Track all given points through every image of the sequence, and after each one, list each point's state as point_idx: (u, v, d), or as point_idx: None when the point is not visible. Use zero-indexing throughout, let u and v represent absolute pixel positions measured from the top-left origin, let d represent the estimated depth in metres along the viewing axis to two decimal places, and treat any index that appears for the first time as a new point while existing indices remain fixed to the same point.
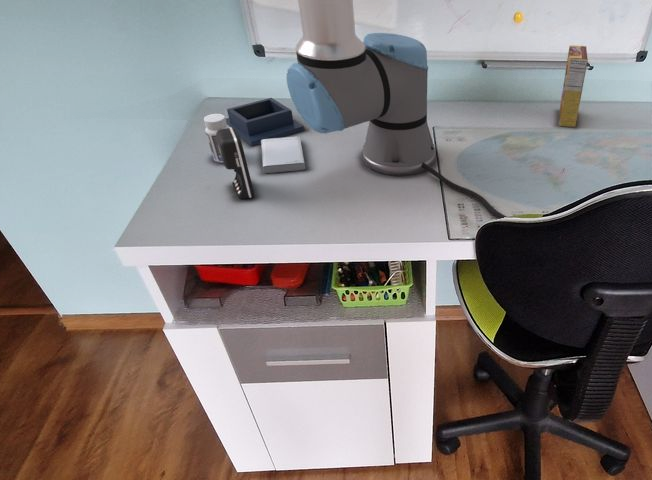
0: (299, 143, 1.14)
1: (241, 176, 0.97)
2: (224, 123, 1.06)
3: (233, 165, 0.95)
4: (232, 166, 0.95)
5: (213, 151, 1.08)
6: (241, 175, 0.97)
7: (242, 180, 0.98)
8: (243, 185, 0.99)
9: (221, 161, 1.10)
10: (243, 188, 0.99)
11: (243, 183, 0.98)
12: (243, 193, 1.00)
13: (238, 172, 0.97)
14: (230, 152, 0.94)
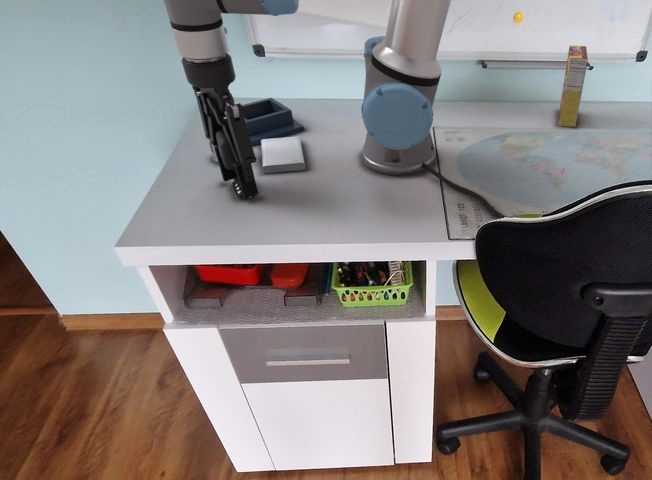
0: (299, 143, 1.14)
1: None
2: None
3: None
4: (232, 166, 0.95)
5: (213, 151, 1.08)
6: None
7: None
8: None
9: None
10: None
11: None
12: None
13: None
14: (230, 152, 0.94)
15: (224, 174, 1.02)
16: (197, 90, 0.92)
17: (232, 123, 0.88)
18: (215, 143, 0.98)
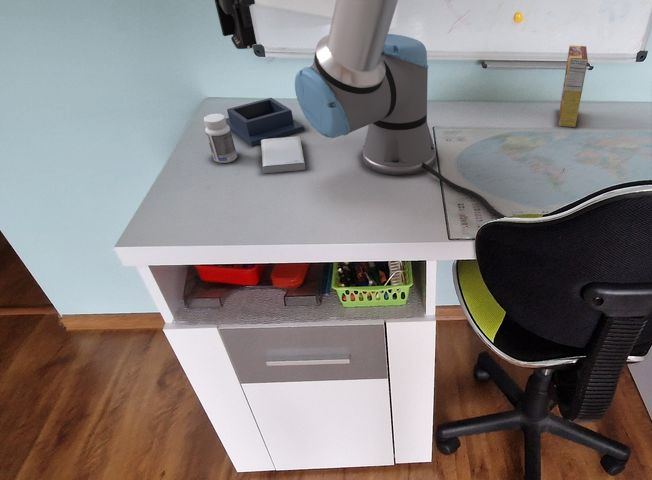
0: (299, 143, 1.14)
1: None
2: (224, 123, 1.06)
3: (232, 9, 1.00)
4: (231, 11, 1.00)
5: (213, 151, 1.08)
6: None
7: None
8: None
9: (221, 161, 1.10)
10: None
11: None
12: None
13: None
14: None
15: (223, 28, 1.06)
16: None
17: None
18: None
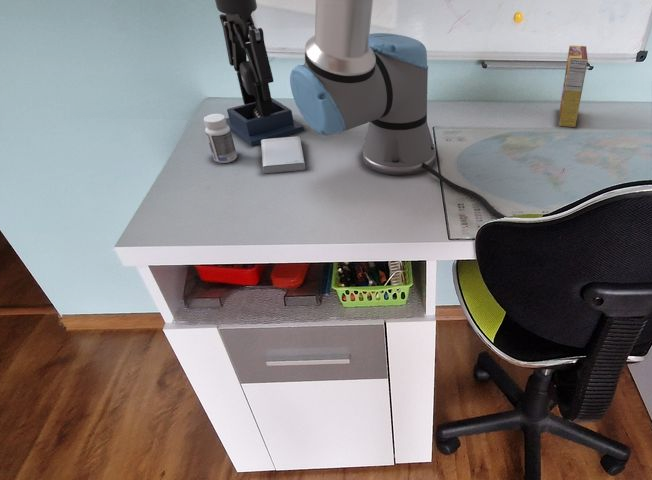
0: (299, 143, 1.14)
1: None
2: (224, 123, 1.06)
3: (254, 91, 1.14)
4: (253, 92, 1.14)
5: (213, 151, 1.08)
6: None
7: None
8: None
9: (221, 161, 1.10)
10: None
11: None
12: None
13: None
14: (252, 79, 1.12)
15: (244, 97, 1.20)
16: (224, 20, 1.10)
17: (254, 45, 1.05)
18: (238, 69, 1.16)
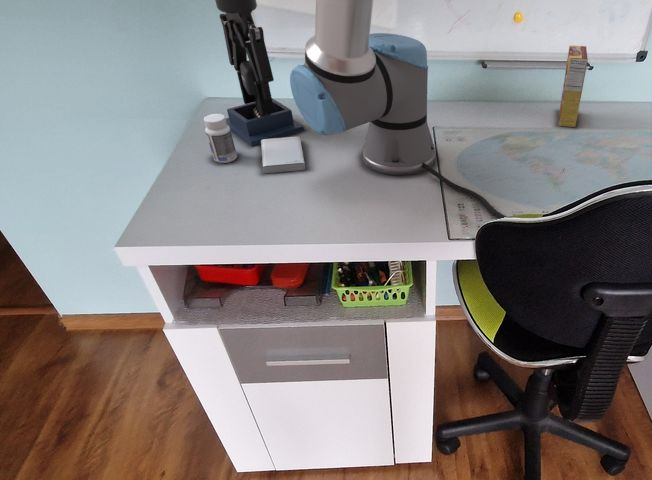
0: (299, 143, 1.14)
1: None
2: (224, 123, 1.06)
3: (255, 91, 1.14)
4: (254, 92, 1.14)
5: (213, 151, 1.08)
6: None
7: None
8: None
9: (221, 161, 1.10)
10: None
11: None
12: None
13: None
14: (253, 79, 1.12)
15: (245, 97, 1.19)
16: (224, 20, 1.10)
17: (254, 44, 1.05)
18: (238, 68, 1.16)
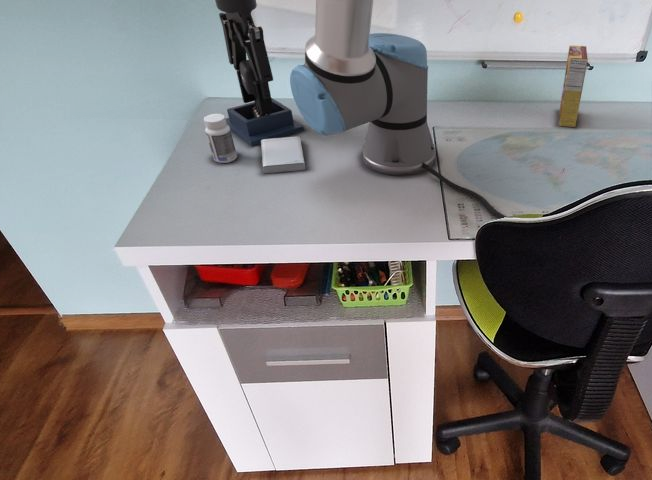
0: (299, 143, 1.14)
1: None
2: (224, 123, 1.06)
3: (254, 90, 1.14)
4: (253, 91, 1.14)
5: (213, 151, 1.08)
6: None
7: None
8: None
9: (221, 161, 1.10)
10: None
11: None
12: None
13: None
14: (252, 78, 1.12)
15: (244, 96, 1.19)
16: (223, 19, 1.10)
17: (254, 43, 1.05)
18: (237, 67, 1.16)
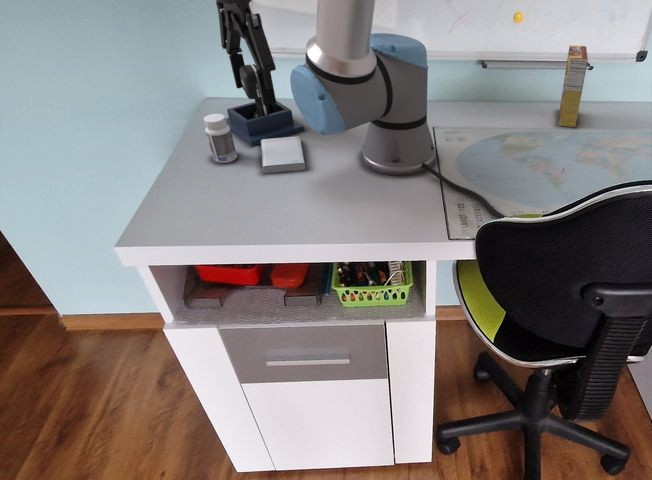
0: (299, 143, 1.14)
1: (261, 105, 1.16)
2: (224, 123, 1.06)
3: (254, 95, 1.14)
4: (253, 96, 1.14)
5: (213, 151, 1.08)
6: (261, 104, 1.16)
7: (261, 109, 1.17)
8: (262, 114, 1.18)
9: (221, 161, 1.10)
10: None
11: (262, 112, 1.17)
12: None
13: (258, 102, 1.16)
14: (252, 83, 1.13)
15: (237, 81, 1.18)
16: (220, 7, 1.08)
17: (252, 30, 1.03)
18: (230, 52, 1.15)
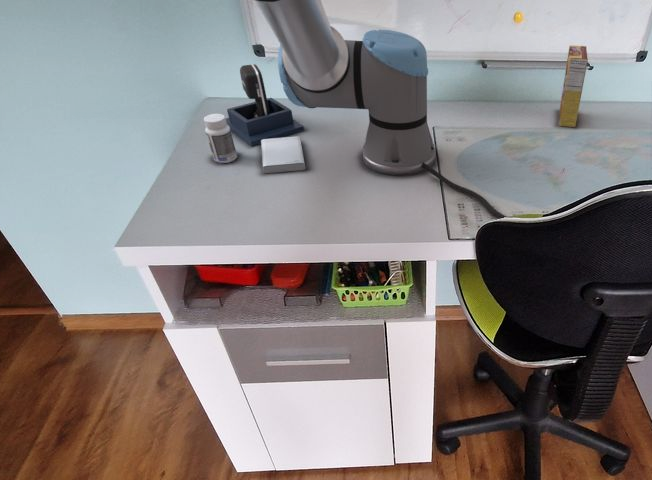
0: (299, 143, 1.14)
1: (261, 105, 1.16)
2: (224, 123, 1.06)
3: (255, 95, 1.14)
4: (254, 96, 1.14)
5: (213, 151, 1.08)
6: (261, 104, 1.16)
7: (262, 109, 1.17)
8: (262, 114, 1.18)
9: (221, 161, 1.10)
10: None
11: (262, 112, 1.17)
12: None
13: (258, 102, 1.16)
14: (253, 83, 1.13)
15: None
16: None
17: None
18: None
